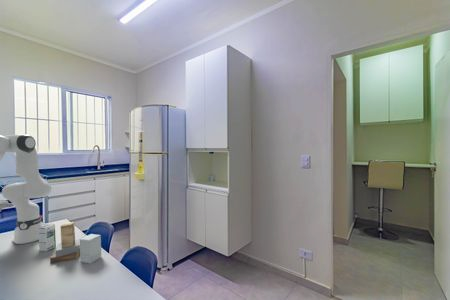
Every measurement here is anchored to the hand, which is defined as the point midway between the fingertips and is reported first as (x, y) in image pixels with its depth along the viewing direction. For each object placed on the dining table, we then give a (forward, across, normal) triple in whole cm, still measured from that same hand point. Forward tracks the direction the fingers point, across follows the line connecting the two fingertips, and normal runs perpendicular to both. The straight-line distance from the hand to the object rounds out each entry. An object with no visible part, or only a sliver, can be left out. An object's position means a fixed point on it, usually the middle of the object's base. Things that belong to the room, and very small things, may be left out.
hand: (6, 207), depth 109 cm
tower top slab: (+24, +6, +29) cm, 38 cm away
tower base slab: (+24, +6, +32) cm, 41 cm away
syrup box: (+8, +20, +32) cm, 38 cm away
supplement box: (+38, -3, +32) cm, 50 cm away
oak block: (+24, +6, +25) cm, 36 cm away
